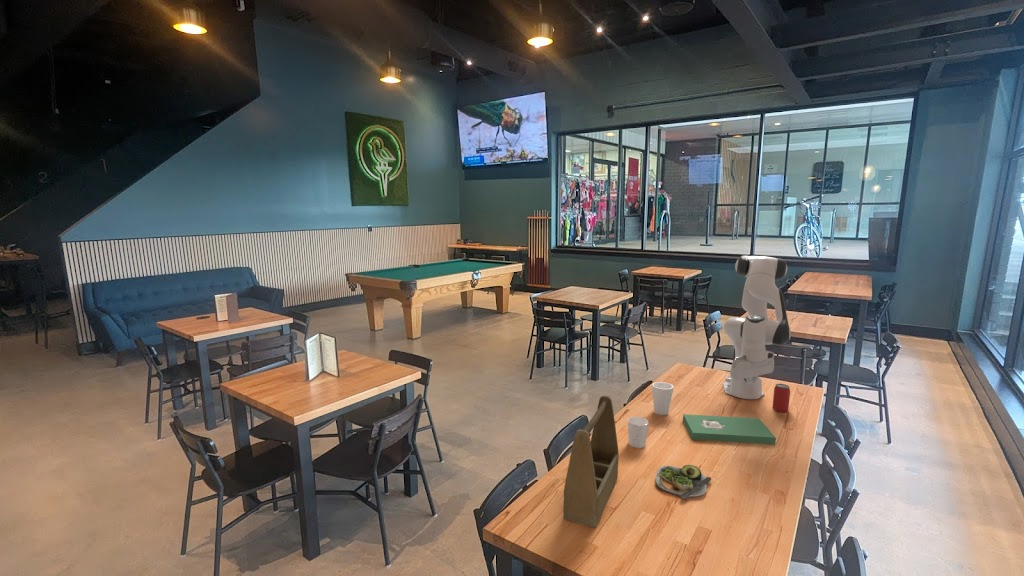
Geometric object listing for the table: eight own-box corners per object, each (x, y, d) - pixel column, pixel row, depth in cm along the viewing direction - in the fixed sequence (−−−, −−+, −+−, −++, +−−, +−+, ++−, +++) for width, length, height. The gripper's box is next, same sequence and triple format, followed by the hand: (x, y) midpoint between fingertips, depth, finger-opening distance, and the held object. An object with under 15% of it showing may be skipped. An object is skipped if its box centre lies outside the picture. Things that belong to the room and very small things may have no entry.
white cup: (624, 446, 189) (625, 422, 187) (629, 437, 196) (630, 415, 194) (644, 450, 185) (646, 426, 183) (649, 442, 192) (650, 419, 190)
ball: (718, 424, 203) (717, 419, 201) (719, 432, 201) (719, 428, 198) (708, 424, 205) (707, 420, 202) (709, 433, 202) (709, 428, 199)
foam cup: (669, 408, 225) (670, 382, 223) (674, 416, 216) (675, 389, 214) (649, 407, 226) (650, 381, 224) (652, 415, 217) (654, 388, 214)
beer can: (787, 414, 218) (789, 389, 216) (771, 410, 222) (773, 386, 220) (789, 409, 224) (791, 385, 222) (773, 406, 227) (775, 382, 226)
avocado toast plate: (709, 509, 149) (710, 496, 148) (651, 495, 157) (651, 482, 156) (711, 478, 167) (712, 466, 166) (658, 467, 174) (659, 455, 173)
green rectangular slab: (682, 420, 212) (683, 414, 211) (758, 424, 207) (759, 418, 207) (692, 439, 194) (692, 432, 194) (775, 444, 190) (776, 437, 189)
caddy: (596, 529, 139) (599, 434, 135) (562, 519, 144) (563, 427, 139) (618, 479, 166) (621, 397, 161) (588, 472, 170) (590, 392, 165)
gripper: (739, 360, 190) (737, 392, 193) (777, 353, 197) (775, 384, 199) (727, 355, 196) (725, 387, 198) (765, 348, 203) (763, 379, 205)
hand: (751, 385), depth 199 cm, fingers closed
